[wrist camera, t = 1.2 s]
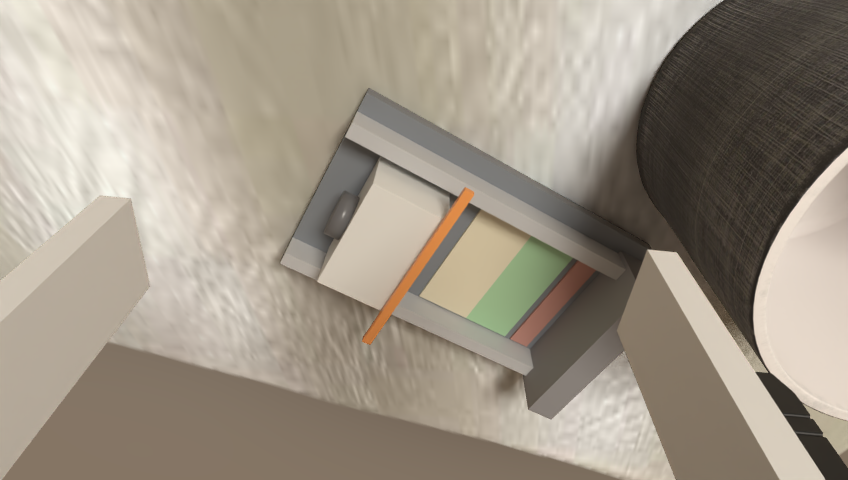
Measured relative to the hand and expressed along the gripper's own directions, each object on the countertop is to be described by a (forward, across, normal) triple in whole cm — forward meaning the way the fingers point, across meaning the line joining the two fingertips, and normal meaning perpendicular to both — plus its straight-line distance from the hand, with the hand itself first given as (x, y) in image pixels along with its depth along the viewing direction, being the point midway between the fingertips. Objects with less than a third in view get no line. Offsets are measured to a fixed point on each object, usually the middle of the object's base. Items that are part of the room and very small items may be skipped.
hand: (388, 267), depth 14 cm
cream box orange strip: (+20, -2, -10) cm, 22 cm away
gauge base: (+21, +4, -13) cm, 25 cm away
